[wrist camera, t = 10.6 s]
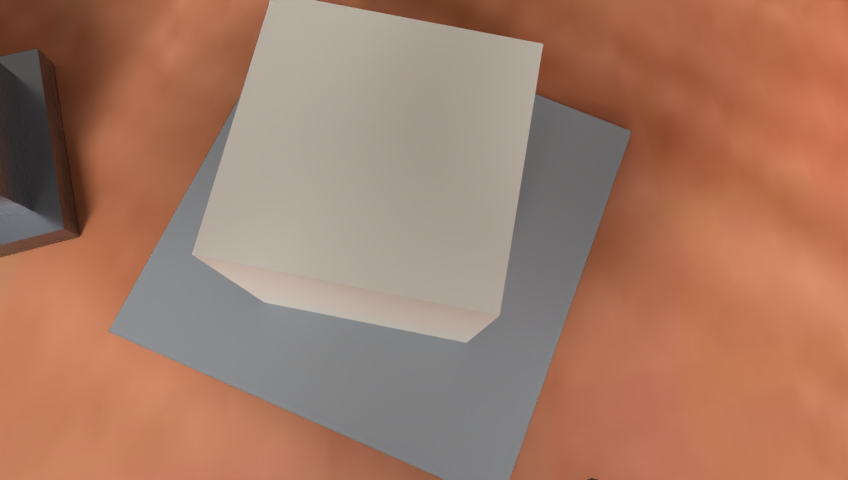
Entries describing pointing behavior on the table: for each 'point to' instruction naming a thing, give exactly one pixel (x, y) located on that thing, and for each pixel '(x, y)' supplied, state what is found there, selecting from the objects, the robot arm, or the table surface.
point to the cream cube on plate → (374, 168)
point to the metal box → (32, 157)
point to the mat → (388, 347)
